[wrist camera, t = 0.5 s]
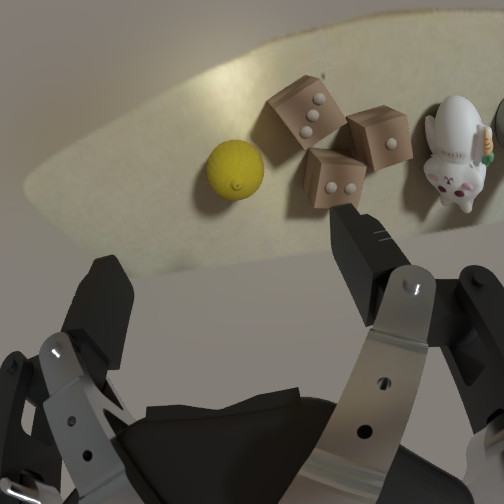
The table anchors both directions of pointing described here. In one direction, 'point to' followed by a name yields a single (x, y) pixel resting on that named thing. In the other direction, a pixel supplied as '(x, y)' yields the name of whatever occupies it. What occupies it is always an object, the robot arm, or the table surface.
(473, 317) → the robot arm
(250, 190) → the lemon
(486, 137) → the cat figurine
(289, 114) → the block three dots
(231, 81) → the table surface
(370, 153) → the block one dot
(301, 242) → the table surface
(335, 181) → the block two dots
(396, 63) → the table surface
